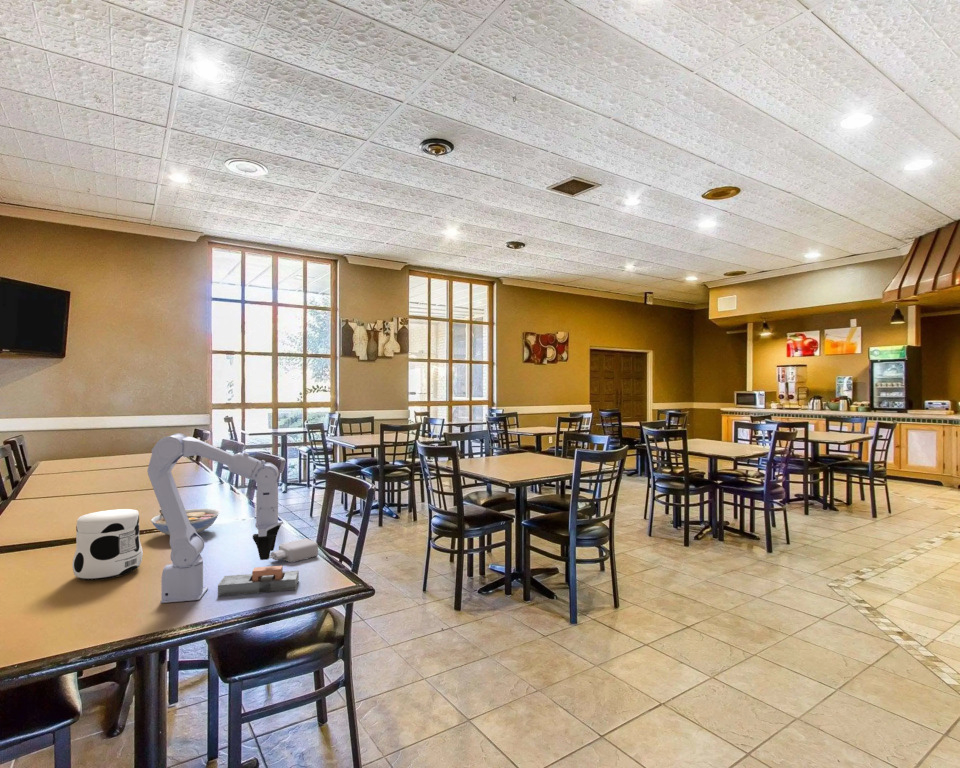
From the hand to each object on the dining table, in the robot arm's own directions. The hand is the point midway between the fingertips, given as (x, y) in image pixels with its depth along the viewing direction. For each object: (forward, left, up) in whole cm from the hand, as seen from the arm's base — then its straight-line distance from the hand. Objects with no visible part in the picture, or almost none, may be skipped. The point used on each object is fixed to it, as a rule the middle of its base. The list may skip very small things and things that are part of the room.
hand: (267, 554), depth 147 cm
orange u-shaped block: (0, 0, -9) cm, 9 cm away
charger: (+3, +24, -10) cm, 26 cm away
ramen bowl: (-40, +62, -10) cm, 74 cm away
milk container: (-49, +22, -10) cm, 54 cm away
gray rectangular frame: (-2, 0, -9) cm, 10 cm away
